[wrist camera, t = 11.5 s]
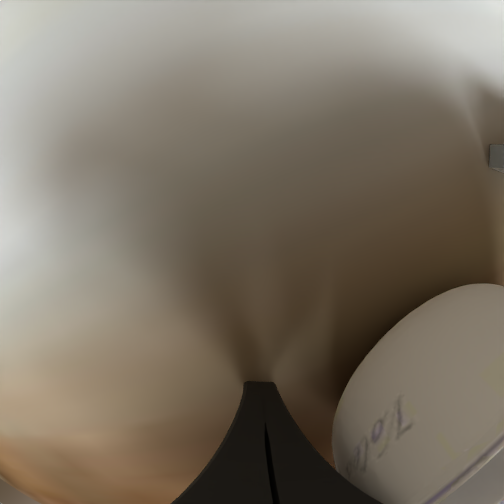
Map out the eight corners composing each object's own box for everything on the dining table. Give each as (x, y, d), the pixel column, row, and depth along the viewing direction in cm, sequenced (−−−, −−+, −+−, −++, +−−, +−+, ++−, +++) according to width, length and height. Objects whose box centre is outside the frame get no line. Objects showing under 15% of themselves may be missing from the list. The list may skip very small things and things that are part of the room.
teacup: (285, 310, 10) (340, 536, 3) (505, 219, 10) (641, 278, 2) (342, 478, 14) (367, 576, 7) (482, 411, 13) (533, 484, 6)
